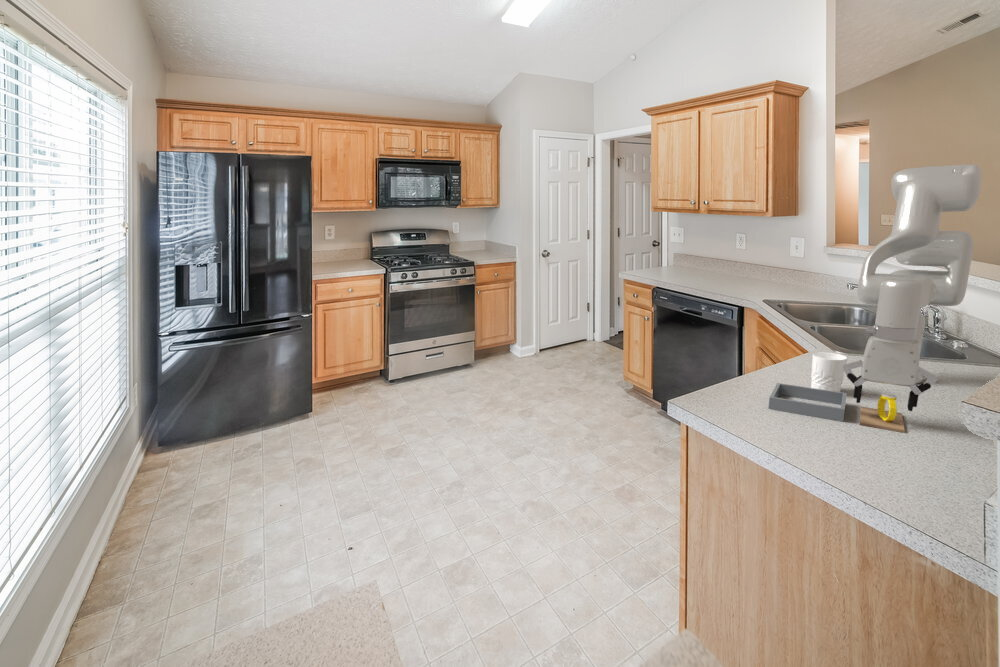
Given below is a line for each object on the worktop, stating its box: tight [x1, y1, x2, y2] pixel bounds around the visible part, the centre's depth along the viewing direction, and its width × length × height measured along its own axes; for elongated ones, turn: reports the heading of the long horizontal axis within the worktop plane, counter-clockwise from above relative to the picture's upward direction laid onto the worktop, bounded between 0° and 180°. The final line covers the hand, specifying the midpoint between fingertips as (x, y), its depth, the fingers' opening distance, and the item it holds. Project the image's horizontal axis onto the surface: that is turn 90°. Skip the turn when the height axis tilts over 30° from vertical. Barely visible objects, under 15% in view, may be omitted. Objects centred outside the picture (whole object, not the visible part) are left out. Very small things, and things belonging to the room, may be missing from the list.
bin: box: [768, 382, 848, 422], centre depth 127 cm, size 14×16×3 cm
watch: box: [877, 393, 898, 422], centre depth 116 cm, size 6×3×6 cm, turn 164°
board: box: [859, 406, 906, 433], centre depth 117 cm, size 12×8×1 cm, turn 144°
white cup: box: [810, 351, 848, 392], centre depth 137 cm, size 8×8×10 cm
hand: (883, 405), depth 117 cm, fingers open, 9 cm apart
